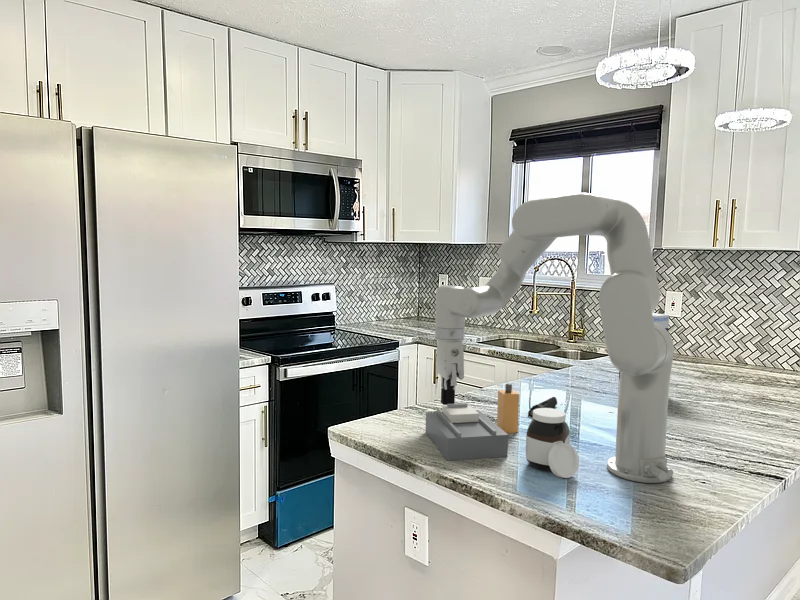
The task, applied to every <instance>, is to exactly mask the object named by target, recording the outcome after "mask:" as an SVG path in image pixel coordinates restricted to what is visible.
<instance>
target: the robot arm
mask: <svg viewBox="0 0 800 600" xmlns="http://www.w3.org/2000/svg"><path fill="white" fill-rule="evenodd" d="M511 227H512V229H513V231H512V233H510V235H509V236H508V237H507V238H506V239H505V240H504V242H503V243H502V244H501V245H500V247H498V251H497V253H498V257H499V259H500V263H499V267H498V268H497V270H496V272H495V273H494V275H492V277H491V278H490V279H489V280H488V282H487V283H485V284H484V285H481V286H475V287H473V286H472V287H463V286H461V285H449V284H448V285H447V284H446V285H440V286H438V287H437V289H436V293H435V320H434V321H435V322H434V324H435V326H434V340H435V341H437V344H436V345H437V346H436V357H435V358H436V360H435V361H436V362H435V363H436V364H435V365H436V366H435V367H436V373H438V375H440V381H441V382H440V383H441V385H440V386H441V389H440V390H441V392H440V403H441V404H442V405H444V406H447V404H456V403H455V402H456V401H455V398H456V394H455V393H456V386H457V385H458V379H459V381H460V380H461V381H462V380H464V378H465V358H464V357H465V353H464V344H463V343H464V341H465V329H466V328H465V326H466V324H465V321H466V318H467V319H477V318H481V317H486V316H491V315H495V314H497V313H498V312H500V310H502V309H503V308H504V307H505V306H506V304H508V303H509V302H510V300H512V298H513V297H514V296H515V294H516V293H517V292H518V291H519V289H520V288H521V286H522V284H523V282H524V280H525V277H526V275H527V272H528V271H529V270H530V269H531V267H533V265H534V264H535V263H536V262H537V260H538V259H539V258H540V257H541V256H542V255H543V254H544V253H545V251H547V249H548V248H549V247H550V246H551V245H552V244H553V242H554V241H555V240H556V239H557V238H564V237H574V236H576V237H577V236H599V237H600V236H601V237H603V238H604V239H605V241H606V254H607V261H608V264H609V265H608V266H609V271H610V276H609V277H607V278H606V280H605V281H603V284H602V285H601V287H600V290H599V294H598V295H599V296H598V305H599V312H600V317H601V324H602V329H603V336H604V339H605V340H604V341H605V342H604V343H605V346H606V351H607V355H608V357H609V360H610V362H611V364H612V365H613V366H614V367H615V368H616V369H617V370H618V372H619V371H620V372H621V374H620V383H619V382H618V387H619V388H618V397H617V398H618V400H617V417H616V435H615V439H616V440H615V454H614V455H615V456H612V457H610V458H609V459H608V460H607V461H606V462H607V463H606V467H607V470H608V471H609V472H611V473H612V474H613V475H615V476H617V477H620V478H622V479H625V480H627V481H628V480H629V481H631V482H636V483H645V484H659V483H664V482H668V481H670V480H671V479H672V476H673V475H674V471H673V469H671V468H670V466H668V458H667V457H666V443H667V442H666V441H667V428H668V427H667V425H668V424H667V423H668V409H669V397H670V383H671V373H672V367H673V361H674V352H675V347H674V346H675V345H674V342H673V338H672V336H671V334H670V332H669V330H668V331H667V330H666V329H665V328H664V327H662V326H661V325H659V324H657V323H654V320H653V314H652V313H653V311H654V310H655V309H656V308H657V307H658V305H659V303H660V300H661V290H660V285H659V281H658V276H657V271H656V267H655V266H656V265H655V261H654V256H653V252H652V246H651V243H650V242H651V241H650V238H649V232H648V228H647V224H646V222H645V220H644V217H643V216H642V215H641V213H640V212H639V211H638V210H637V208H635V207H634V206H633V205H631V204H630V203H629V202H626V201H624V200H621V199H618V198H613V197H610V196H609V197H608V196H605V195H599V194H594V193H588V192H579V193H572V194H565V195H559V196H552V197H547V198H539V199H531V200H527V201H525V202H523V203H522V204H520V205H519V206H518V207H517V208H516V209H515V210H514V212H513V215H512V219H511Z"/></svg>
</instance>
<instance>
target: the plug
mask: <svg viewBox="0 0 800 600" xmlns="http://www.w3.org/2000/svg"><path fill="white" fill-rule="evenodd" d="M519 405H520V393H519V392H517V391H515V390H514V389H513V383H505V389H500V390H497V410H496V411H497V413H496V414H497V415H496V416H497V419H496V425H497V426H498V427H500V428H501V429H502V430H503V431H504V432H505V433H507V434H517V433H516V432H518V433H519V410H520V408H519Z"/></svg>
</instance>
